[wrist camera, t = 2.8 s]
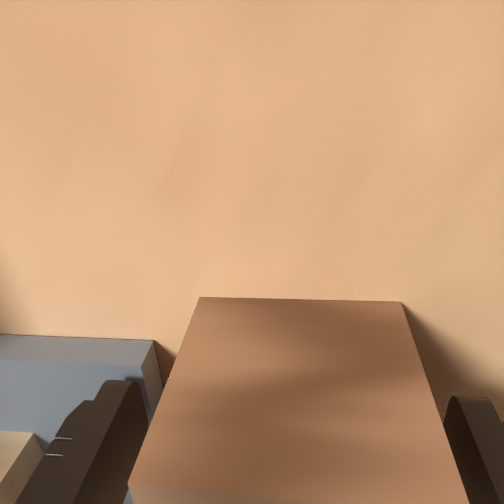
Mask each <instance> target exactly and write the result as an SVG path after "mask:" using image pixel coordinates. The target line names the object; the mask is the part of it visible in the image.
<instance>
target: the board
mask: <svg viewBox="0 0 504 504" xmlns="http://www.w3.org/2000/svg"><path fill="white" fill-rule="evenodd" d="M106 380H129V381H137V382H138V384H139V388H140V391H141V395H142V399H143V402H144V406H145V410H146V414H147V417H148V429H149V426H150V424H151V421H152V419H153V416H154V414H155V411H156V408H157V406H158V403H159V401H160V398H161V396H162V393H163V390H164V387H163V383H162V378H161V374H160V369H159V364H158V360H157V355H156V351H155V346H154V342H153V341H151V340H126V339H101V338H76V337H50V336H25V335H0V431H13V432H27V433H34V435H35V437H36V439H37V442H38V444H39V446H40V448H41V450H42V452H43V454H44V456H45V452H46V450H47V448H48V447H49V445H50V443H51V442H52V440H54V439H55V435H56V433H57V432H58V430H59V428H60V427H61V425H62V423H63V422H64V420H65V418H66V417H67V416H68V415H69V414H70V413H71V412H72V411H73V410H74V409H75V408H76V407H77V406H78V405H80V404H81V403H82V402H83V401H84V400H94V399H95V397H96V395H97V393H98V391H99V390H100V388H101V386H102V384H103V383H104V382H105V381H106ZM123 504H134V502H133V499H132V496H131V493H130V490H129V489H128V492H127V495H126V497H125V500H124V503H123Z"/></svg>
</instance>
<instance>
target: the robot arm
mask: <svg viewBox="0 0 504 504" xmlns="http://www.w3.org/2000/svg"><path fill="white" fill-rule="evenodd" d="M443 427H444V430H445V433H446V436H447V439H448V442H449V445H450V448H451V451H452V454H453V457H454V460H455V463H456V466H457V468H458V471H459V474H460V477H461V480H462V483H463V486H464V489H465V492H466V495H467V498H468V501H469V504H504V423H502V422H501V420H500V418H499V416H498V414H497V412H496V410H495V408H494V406H493V405H492V403H491V401H490V400H489V399H487V398H480V397H458V396H452V397H451V398H450V400H449V404H448V408H447V412H446V415H445V419H444V423H443ZM147 431H148V417H147V414H146V410H145V406H144V402H143V399H142V395H141V391H140V388H139V384H138V382H137V381H129V380H106V381H105V382H104V383H103V384H102V386H101V388H100V390H99V391H98V393H97V395H96V397H95V399H94V400H84V401H83V402H82V403H81V404H80V405H78V406H77V407H76V408H75V409H74V410H73V411H72V412H71V413H70V414H69V415H68V416H67V417H66V418H65V420H64V422H63V423H62V425H61V427H60V428H59V430H58V432H57V433H56V435H55V439H54V440H52V442H51V443H50V445H49V447H48V448H47V450H46V452H45V456H44V457H42V458H41V460H40V462H39V463H38V465H37V467H36V468H35V470H34V472H33V473H32V475H31V477H30V478H29V480H28V482H27V484H26V485H25V487H24V489H23V490H22V492H21V494H20V495H19V497H18V499H17V500H16V502H15V504H123V503H124V500H125V497H126V495H127V492H128V489H129V487H128V484H127V483H128V480H129V478H130V475H131V473H132V470H133V467H134V465H135V462H136V460H137V457H138V455H139V452H140V449H141V447H142V444H143V442H144V439H145V437H146V434H147Z"/></svg>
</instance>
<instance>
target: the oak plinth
mask: <svg viewBox="0 0 504 504" xmlns="http://www.w3.org/2000/svg"><path fill="white" fill-rule="evenodd" d="M42 457H44V454H43V452H42V450H41V448H40V446H39V444H38V442H37V439H36V437H35V435H34V433H27V432H13V431H0V504H15V502H16V500H17V499H18V497H19V495H20V494H21V492H22V490H23V489H24V487H25V485H26V484H27V482H28V480H29V478H30V477H31V475H32V473H33V472H34V470H35V468H36V467H37V465H38V463H39V462H40V460H41V458H42Z"/></svg>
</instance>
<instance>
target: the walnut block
mask: <svg viewBox="0 0 504 504" xmlns="http://www.w3.org/2000/svg"><path fill="white" fill-rule="evenodd" d="M127 484H128V487H129V490H130V493H131V496H132V499H133V502H134V504H469V501H468V498H467V495H466V492H465V489H464V486H463V483H462V480H461V477H460V474H459V471H458V468H457V466H456V463H455V460H454V457H453V454H452V451H451V448H450V445H449V442H448V439H447V436H446V433H445V430H444V427H443V424H442V421H441V419H440V416H439V413H438V410H437V407H436V404H435V401H434V398H433V395H432V392H431V389H430V386H429V383H428V380H427V377H426V374H425V372H424V369H423V366H422V363H421V360H420V357H419V354H418V351H417V348H416V345H415V342H414V339H413V336H412V333H411V330H410V327H409V325H408V322H407V319H406V316H405V313H404V310H403V307H402V304H401V302H390V301H347V300H304V299H262V298H219V297H200V298H199V300H198V303H197V306H196V308H195V311H194V313H193V316H192V318H191V321H190V324H189V326H188V329H187V331H186V334H185V336H184V339H183V342H182V344H181V347H180V349H179V352H178V354H177V357H176V360H175V362H174V365H173V367H172V370H171V372H170V375H169V378H168V380H167V383H166V385H165V388H164V390H163V393H162V396H161V398H160V401H159V403H158V406H157V408H156V411H155V414H154V416H153V419H152V421H151V424H150V426H149V429H148V431H147V434H146V437H145V439H144V442H143V444H142V447H141V449H140V452H139V455H138V457H137V460H136V462H135V465H134V467H133V470H132V473H131V475H130V478H129V480H128V483H127Z"/></svg>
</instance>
